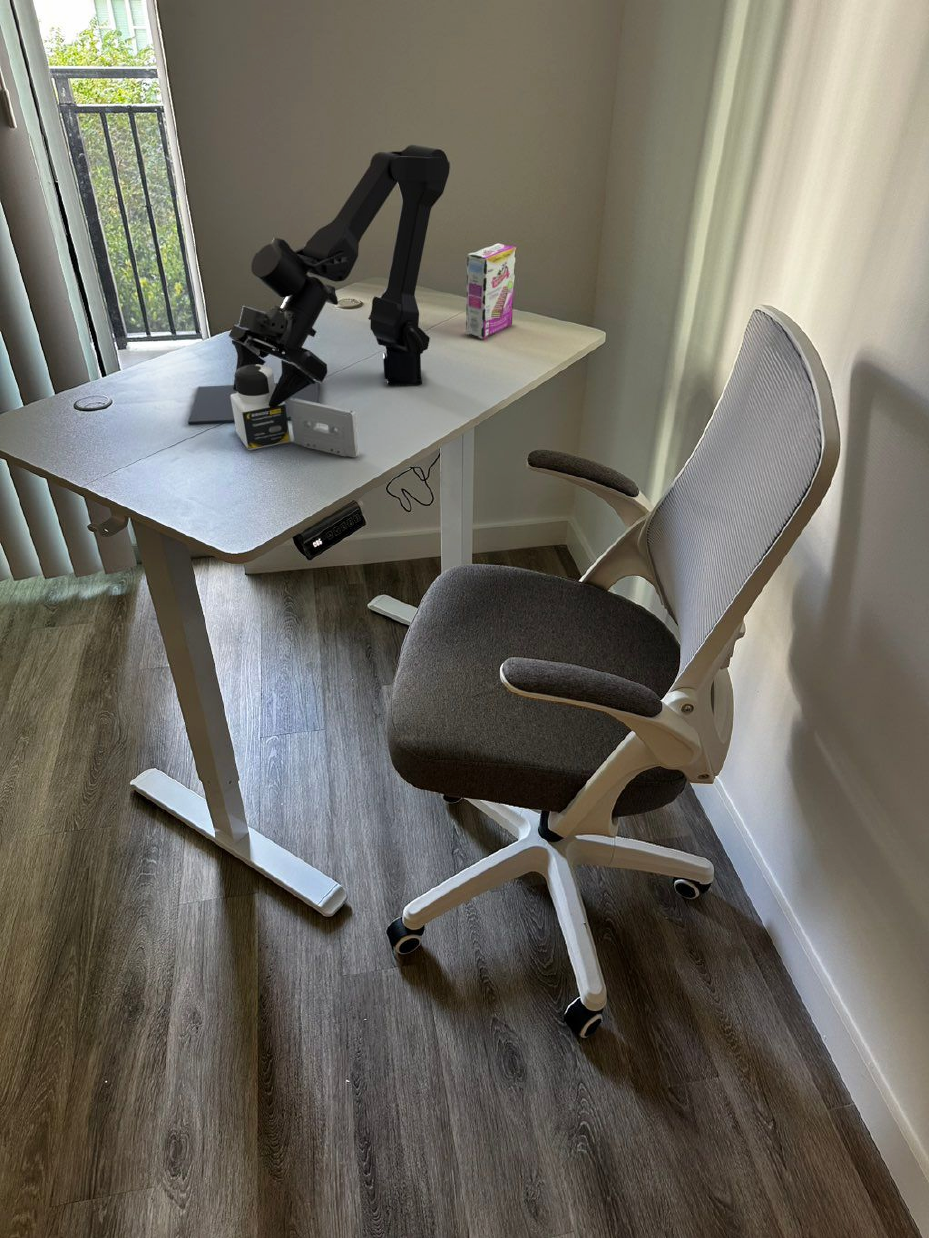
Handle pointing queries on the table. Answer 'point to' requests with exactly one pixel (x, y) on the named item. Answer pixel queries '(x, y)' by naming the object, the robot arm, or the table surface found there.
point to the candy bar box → (490, 290)
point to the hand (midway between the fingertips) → (252, 398)
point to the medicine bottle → (258, 408)
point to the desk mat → (217, 404)
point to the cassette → (330, 439)
